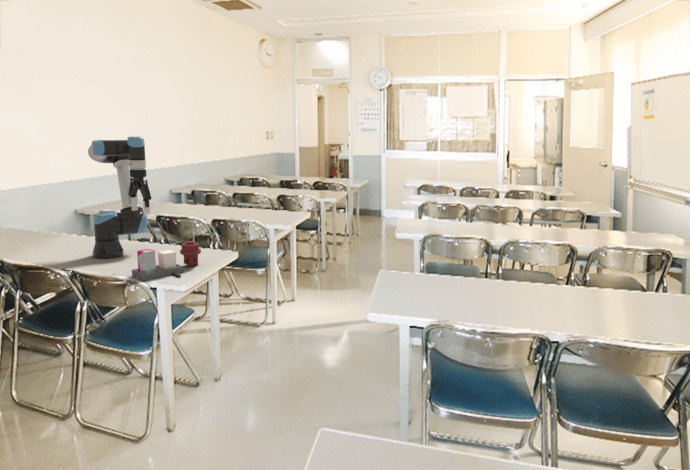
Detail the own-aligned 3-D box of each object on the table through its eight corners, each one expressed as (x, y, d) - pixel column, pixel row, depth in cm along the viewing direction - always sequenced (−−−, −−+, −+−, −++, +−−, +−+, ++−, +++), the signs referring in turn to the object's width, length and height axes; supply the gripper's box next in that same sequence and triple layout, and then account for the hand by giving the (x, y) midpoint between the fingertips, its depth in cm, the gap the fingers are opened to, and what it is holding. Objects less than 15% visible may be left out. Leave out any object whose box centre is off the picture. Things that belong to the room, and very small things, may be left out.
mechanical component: (205, 263, 269) (195, 269, 260) (186, 262, 271) (177, 267, 262) (204, 240, 267) (194, 244, 257) (185, 239, 269) (175, 243, 259)
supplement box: (156, 273, 248) (155, 249, 245) (146, 276, 243) (145, 252, 240) (148, 271, 251) (146, 248, 248) (138, 274, 246) (136, 250, 243)
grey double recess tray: (132, 275, 247) (130, 255, 245) (172, 267, 261) (171, 248, 259) (149, 284, 235) (147, 262, 233) (190, 275, 249) (189, 254, 247)
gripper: (119, 167, 263) (122, 209, 267) (141, 171, 246) (144, 216, 250) (134, 166, 268) (137, 208, 272) (157, 170, 251) (159, 214, 255)
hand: (140, 212), depth 261 cm, fingers open, 13 cm apart
